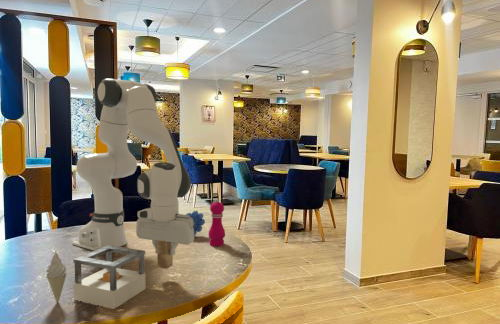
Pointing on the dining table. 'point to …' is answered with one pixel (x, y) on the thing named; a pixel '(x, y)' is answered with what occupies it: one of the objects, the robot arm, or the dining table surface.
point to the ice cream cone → (56, 276)
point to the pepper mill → (216, 224)
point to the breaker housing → (100, 292)
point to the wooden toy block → (164, 254)
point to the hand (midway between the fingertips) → (165, 254)
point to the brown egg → (107, 276)
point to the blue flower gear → (197, 221)
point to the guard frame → (108, 262)
